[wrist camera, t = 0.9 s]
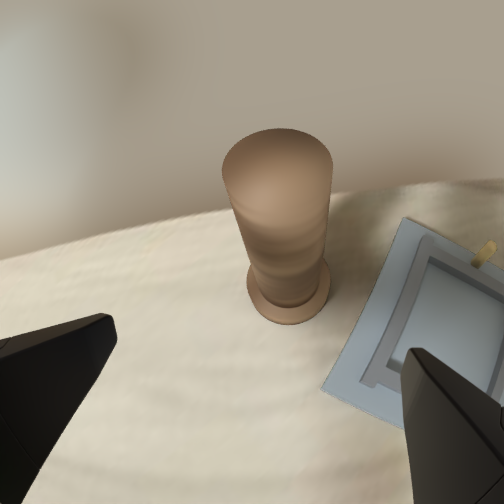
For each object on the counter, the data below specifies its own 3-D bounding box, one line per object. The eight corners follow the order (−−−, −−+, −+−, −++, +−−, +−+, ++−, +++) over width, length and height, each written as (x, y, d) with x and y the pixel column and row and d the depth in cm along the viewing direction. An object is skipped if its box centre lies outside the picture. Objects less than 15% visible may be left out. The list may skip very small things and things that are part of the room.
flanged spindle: (344, 288, 22) (382, 166, 11) (285, 341, 21) (269, 260, 10) (291, 237, 25) (280, 103, 14) (233, 284, 24) (176, 167, 13)
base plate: (478, 458, 14) (508, 463, 10) (320, 389, 19) (325, 386, 16) (528, 295, 19) (554, 276, 15) (399, 224, 24) (413, 194, 20)
